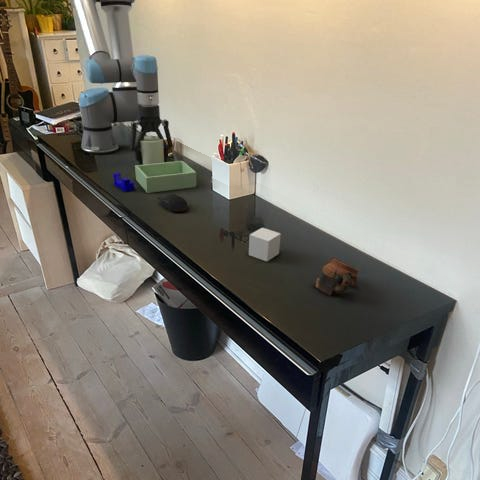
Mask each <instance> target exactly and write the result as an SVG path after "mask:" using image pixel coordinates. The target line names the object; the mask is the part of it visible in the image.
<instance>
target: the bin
mask: <svg viewBox="0 0 480 480" xmlns="http://www.w3.org/2000/svg"><path fill="white" fill-rule="evenodd" d="M134 170H135V171H134V172H135V181H136V182H137V183H138V184H139V185H140V187H142V189H143V190H144V191H145V192H146V193H147V194H150V193H158V192H166V191H167V192H168V191H174V190H183V189H191V188H197V172H196V171H195V170H194V169H193V168H192V167H191V166H190V165H188V164H187V163H186V162H185V161H183V160H176V161H166V162H165V163H156V164H146V165H139V164H137V165H134Z"/></svg>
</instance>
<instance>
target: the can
mask: <svg viewBox="0 0 480 480" xmlns="http://www.w3.org/2000/svg"><path fill="white" fill-rule="evenodd" d="M140 142H141V148H140V152H141V153H142V165H146V164H156V163H164V149H163V148H164V147H163V139H160V138H159V137H158V136H157V135H145V137H144V140H143V141H140Z"/></svg>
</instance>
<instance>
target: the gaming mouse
mask: <svg viewBox="0 0 480 480" xmlns="http://www.w3.org/2000/svg"><path fill="white" fill-rule="evenodd" d="M159 199H160V204H161V206H162V207H164V208H165V209H167V210H168V211H169V212H173V213H174V212H175V213H177V212H178V213H179V212H184V211H187V210H188V209H189V205H188V202H187V200H186V199H185V198H184V197H182V196H180V195H178V194H174V193H166V195H165V196H164V197H159Z"/></svg>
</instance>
